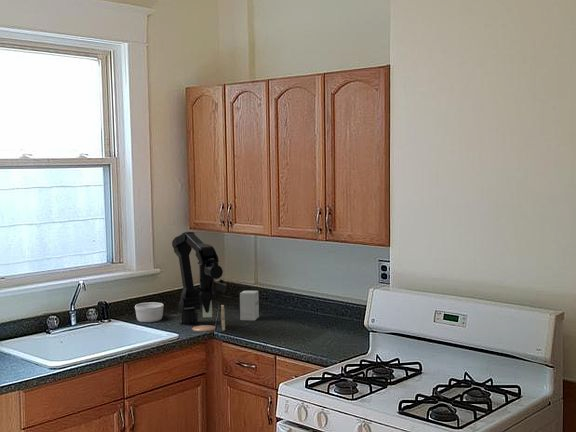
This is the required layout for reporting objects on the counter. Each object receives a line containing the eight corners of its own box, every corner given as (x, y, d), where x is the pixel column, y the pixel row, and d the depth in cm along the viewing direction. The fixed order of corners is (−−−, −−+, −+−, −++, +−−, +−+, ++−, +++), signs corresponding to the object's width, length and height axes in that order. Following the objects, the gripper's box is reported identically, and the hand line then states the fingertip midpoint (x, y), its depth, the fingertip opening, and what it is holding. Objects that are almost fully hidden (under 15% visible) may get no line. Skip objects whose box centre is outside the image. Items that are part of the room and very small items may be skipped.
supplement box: (255, 320, 341) (254, 293, 340) (239, 320, 343) (239, 293, 341) (259, 317, 348) (258, 290, 347) (244, 316, 350) (243, 290, 349)
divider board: (225, 330, 323) (224, 309, 323) (222, 330, 323) (221, 309, 323) (224, 325, 333) (223, 305, 333) (221, 325, 333) (221, 305, 332)
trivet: (187, 330, 325) (187, 329, 325) (199, 325, 334) (199, 324, 334) (208, 332, 321) (208, 331, 321) (219, 327, 330) (219, 326, 330)
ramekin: (170, 319, 349) (169, 304, 349) (147, 324, 339) (147, 309, 338) (151, 315, 358) (151, 301, 357) (129, 320, 348) (128, 305, 347)
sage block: (212, 317, 320) (211, 300, 319) (202, 317, 319) (202, 301, 319) (212, 314, 324) (211, 299, 323) (202, 315, 323) (202, 299, 323)
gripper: (225, 278, 312) (226, 315, 313) (224, 271, 330) (225, 306, 332) (198, 279, 310) (199, 316, 312) (199, 272, 329) (200, 307, 330)
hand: (207, 311), depth 321 cm, fingers closed on sage block, 4 cm apart
